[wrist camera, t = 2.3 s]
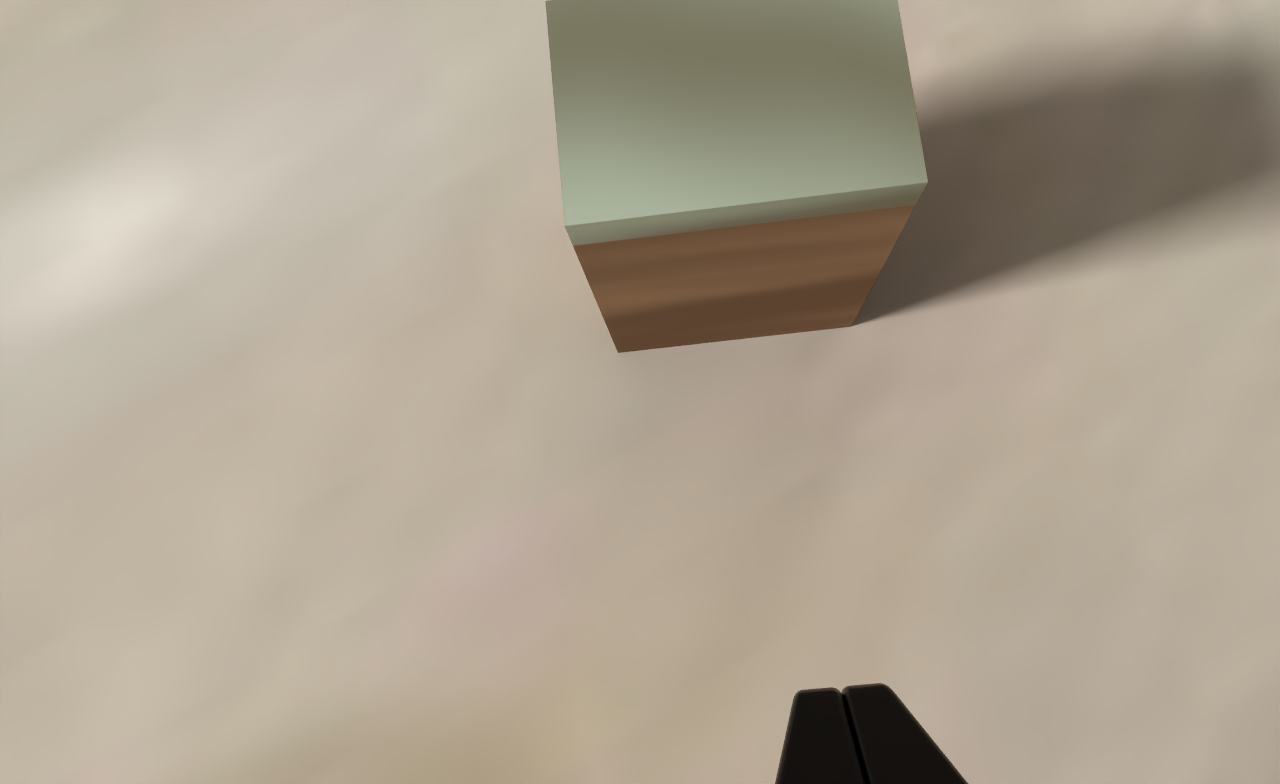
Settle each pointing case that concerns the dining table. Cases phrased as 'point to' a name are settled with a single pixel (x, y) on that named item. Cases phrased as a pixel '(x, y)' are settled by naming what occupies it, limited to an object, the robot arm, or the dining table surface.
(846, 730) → the robot arm
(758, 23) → the walnut block
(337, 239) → the dining table surface
